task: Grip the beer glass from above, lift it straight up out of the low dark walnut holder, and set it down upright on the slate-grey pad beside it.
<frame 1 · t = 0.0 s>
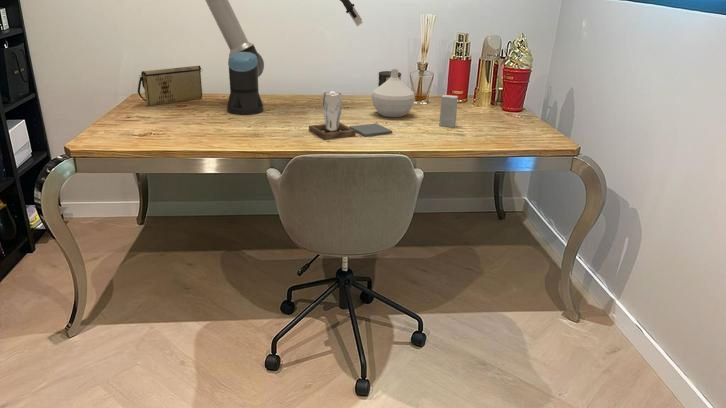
hand: (359, 23, 232), 36 cm above the table, tool tilted 35°, fingers open, 13 cm apart
skincare box: (447, 126, 220), on the table
slate pad: (370, 131, 209), on the table
beer glass: (331, 133, 204), resting in walnut holder
walnut holder: (331, 133, 204), on the table
vase: (392, 115, 234), on the table
coffee can: (388, 104, 254), on the table
clutch purse: (172, 102, 244), on the table
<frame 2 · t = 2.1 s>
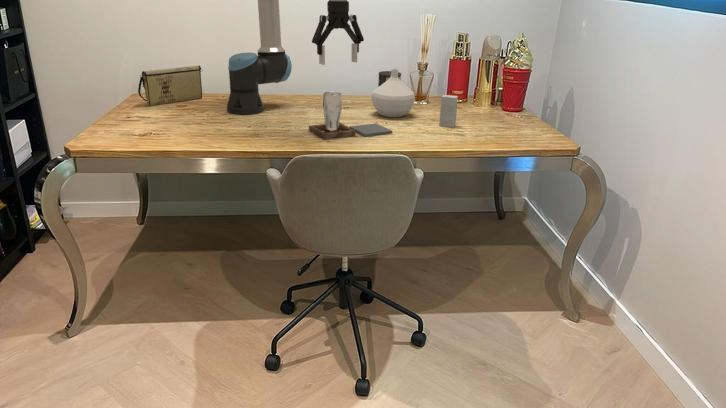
hand: (338, 63, 197), 25 cm above the table, tool pointing down, fingers open, 13 cm apart
nothing on the table moved.
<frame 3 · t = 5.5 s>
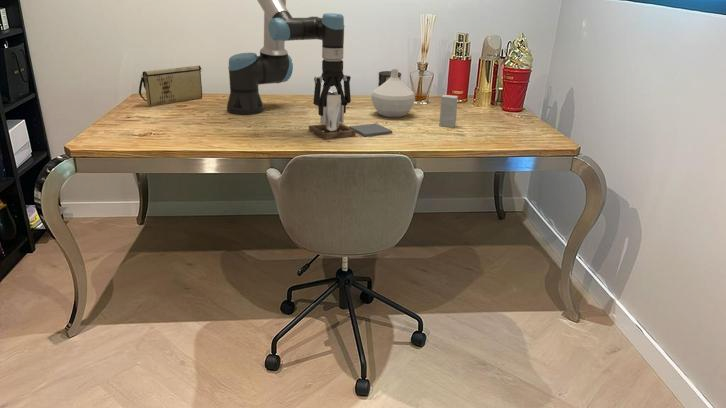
hand: (332, 122, 203), 4 cm above the table, tool pointing down, fingers closed on beer glass, 7 cm apart
beer glass: (331, 133, 204), resting in walnut holder, touching gripper
everything else where it was.
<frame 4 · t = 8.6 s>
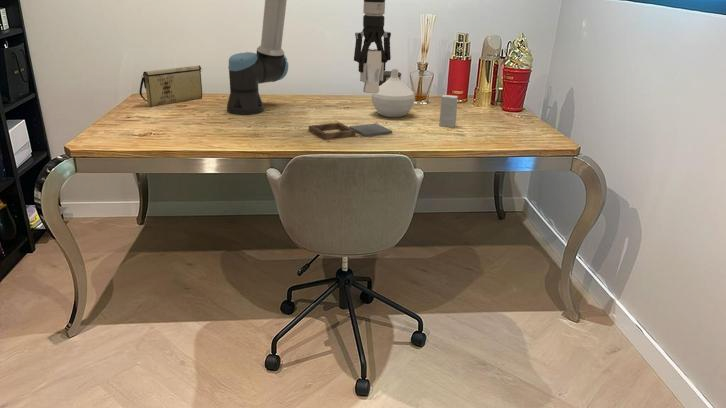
hand: (371, 80, 201), 19 cm above the table, tool pointing down, fingers closed on beer glass, 7 cm apart
beer glass: (371, 92, 203), point 15 cm above the table, touching gripper
everything else where it was.
when the fingers open (6 cm above the table, at t = 11.8 s): beer glass drops 1 cm, resting on slate pad.
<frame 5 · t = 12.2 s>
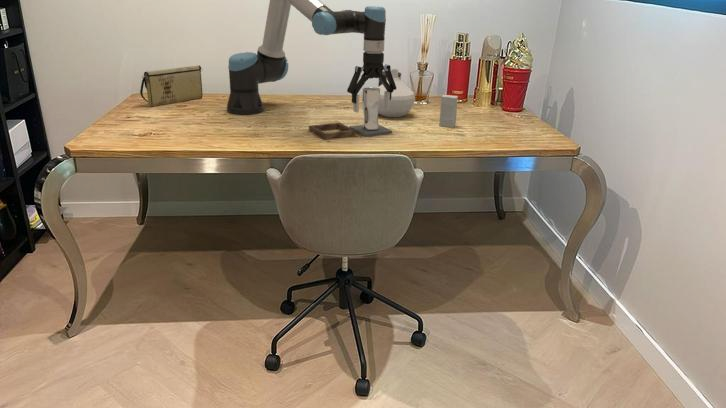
hand: (371, 110, 206), 8 cm above the table, tool pointing down, fingers open, 13 cm apart
beer glass: (370, 128, 209), point 1 cm above the table, touching slate pad
everything else where it was.
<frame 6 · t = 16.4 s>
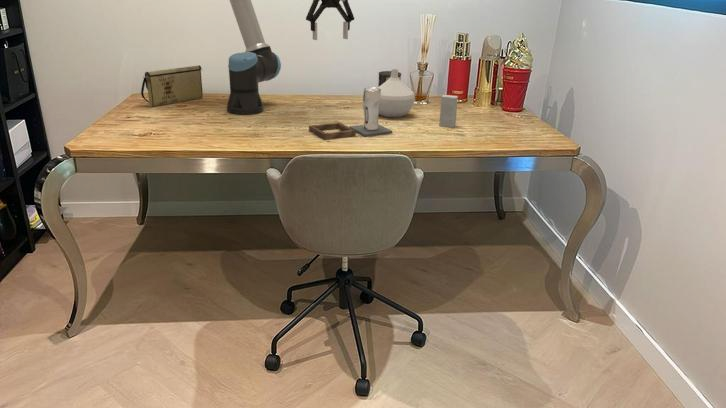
hand: (330, 39, 218), 31 cm above the table, tool pointing down, fingers open, 13 cm apart
at the end: beer glass inside the target area on the slate pad (0.1 cm from its centre), point 0.8 cm above the slate pad's base; beer glass tilted 0°; the gripper is holding nothing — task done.
